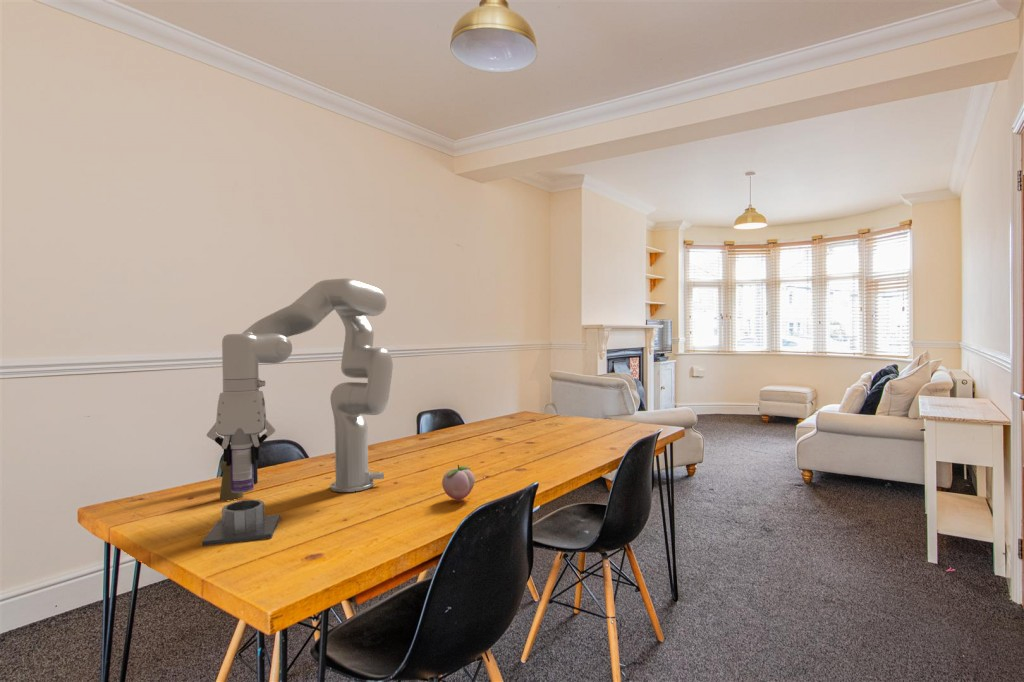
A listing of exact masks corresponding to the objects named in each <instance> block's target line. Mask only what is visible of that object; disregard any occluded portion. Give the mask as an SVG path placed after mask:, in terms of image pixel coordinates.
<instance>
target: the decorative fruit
mask: <svg viewBox="0 0 1024 682" xmlns="http://www.w3.org/2000/svg"><path fill="white" fill-rule="evenodd" d="M441 482H442V483H441V486H442V489H443V491H444V492H445V494H446V495H447V496H448V497H449V498H451V499H452V500H454V501H458V502H460V501H462V500H464V499H465V498H467V496H469V495H470V493H471V492H472V490H473V488H474V486H475V482H476V478H475V475H474V474H473V473H472V471H471V468H470V467H469V466H465V465H459V464H457V467H455V468H452V469H449V470H447V472H445V474H444V475H443V477H442V481H441Z"/></svg>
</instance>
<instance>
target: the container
mask: <svg viewBox="0 0 1024 682" xmlns="http://www.w3.org/2000/svg"><path fill="white" fill-rule="evenodd" d="M230 444H231V492H232V493H243V494H244V493H248V492H251V491H253V490H254V487H255V486H254V485H255V484H254V482H253V464H252V451H251V449H252V447H253V441H252V437H251V435H248V434H245V433H244V431H243V430H242V429H241V428H238V429H237V430H236V432H235V434H234V435H232V436H231V443H230Z"/></svg>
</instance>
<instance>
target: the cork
mask: <svg viewBox="0 0 1024 682" xmlns="http://www.w3.org/2000/svg"><path fill="white" fill-rule="evenodd" d="M220 471H221V472H222V475H221V476H222V478H221V483H220V492H219V501H220V500H233V501H235V500H234V499H238V498H241V497H242V498H244V493H232V492H231V465H230V466H226V462H224V460H222V461H221V463H220ZM242 498H241V499H242ZM238 500H239V499H238Z"/></svg>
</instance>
